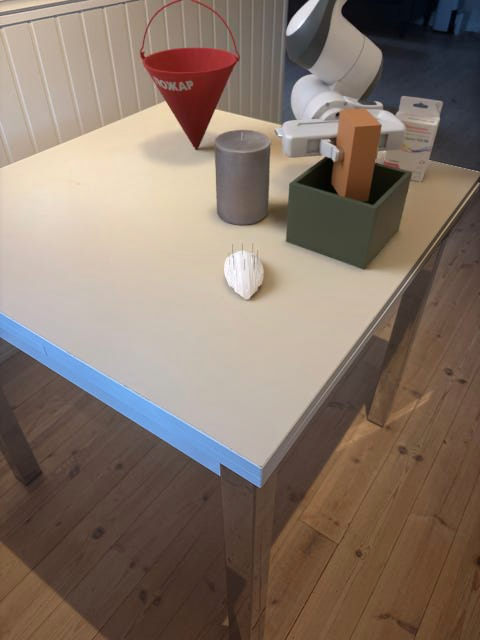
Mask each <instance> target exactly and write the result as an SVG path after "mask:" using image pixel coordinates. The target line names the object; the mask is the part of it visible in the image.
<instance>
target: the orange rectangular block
mask: <svg viewBox="0 0 480 640" xmlns="http://www.w3.org/2000/svg"><path fill="white" fill-rule="evenodd" d="M381 127H382V125H381V124H380V123H379V122H378V121H377V120H376V119H375V118H374V117H373V116H372V115H371V114H370V113H369V112H368V111H367V110H366V109H365V108H363V109H348V110H340V115H339V124H338V132H337V140H336V147H342V148H343V149H344V152H345V154H344V160H343V161H339V162H334V164H333V172H332V180H331V184H332V185H333V187H334V189H335V190H336V192H337V193H338V195H340V196H343V197H347V198H350V199H354V200H357V201H360V202H363V201H368V198H369V193H370V187H371V182H372V176H373V171H374V165H375V163H376V160H377V159H376V154H377V149H378V143H379V138H380V132H381Z"/></svg>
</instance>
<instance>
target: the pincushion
mask: <svg viewBox="0 0 480 640" xmlns="http://www.w3.org/2000/svg"><path fill="white" fill-rule="evenodd" d="M243 245H244V243H242V244H241V250H238V251H236V252H235V253H231V254H229V255H228V256H227V257H226V259H225V261H224V264H223V267H224V268H223V269H224V270H223V271H224V273H223V274H224V277H225V279H226V282H227V284H228V286H229V287H231V288H233V290H234V292H235V293H237V294H238V295H240V297H241V298H243V299H244V300H250V298H251V297H252V296H253V295H254V294H255V293H256V292H258V290H259V289H258V288H259V287H261V285H263V280H264V276H265V270H264V264H263V262H262V260H261V259H260V257H259V251H257V253H256V254H255V253H254V244H252V251H251V252H248V251H246V250H243V248H244V247H243ZM231 248H232V251H231V252H234V244H233V243H232V247H231Z"/></svg>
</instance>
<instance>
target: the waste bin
mask: <svg viewBox="0 0 480 640" xmlns="http://www.w3.org/2000/svg"><path fill="white" fill-rule="evenodd" d="M333 164H334V161H333V160H332V158H328V157H325V156H323V157H322V158H321V159H320V160H319V161H317V162H316V163H315V164H313V165H311V167H309V168H308V169H307V170H305V171H304V172H303V173H301V174H299V175H298V176H297V177H296V178H294V179H293V180H292V181H290V182H289V183H288V202H287V214H286V215H287V217H286V218H287V219H286V233H285V242H287V243H289V244H292V245H295V246H298V247H300V248H303V249H306V250H309V251H311V252H315V253H318V254H320V255H322V256H326V257H329V258H331V259H333V260H336V261H340V262H342V263H345V264H348V265H350V266H354V267H356V268H359V269H362V270H365V269H367V267H368V266H369V264H370V263H371V262H372V261H373V260H374V259H375V258H376V256H377V255H379V253H380V252H381V250H383V248H384V247H385V246H386V245H387V244H388V243H389V241H390V240H391V239H392V238H393V237H394V236H395V235H396V233H398V231H399V229H400V226H401V222H402V219H403V213H404V209H405V205H406V202H407V197H408V192H409V189H410V184H411V181H412V180H411V176H412V172H410V171H406V170H402V169H398V168H394V167H391V166H387V165H384V163H383V164H382V163H379V162H375V165H374V171H373V176H372V182H371V187H370V193H369V198H368V201H363V202H360V201H357V200H354V199H350V198H347V197H343V196H340V195H338V193H337V192H336V190H335V189H334V187H333V185H332V184H331V180H332V172H333Z"/></svg>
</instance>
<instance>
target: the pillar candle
mask: <svg viewBox="0 0 480 640" xmlns="http://www.w3.org/2000/svg"><path fill="white" fill-rule="evenodd" d="M271 144H272V139H271V137H269V136H268V135H267V134H265V133H263V132H260V131H258V130H252V129H251V130H250V129H237V130H236V129H234V130H229V131H225V132H222V133H220V134H218V135H217V136H216V137H215V139H214V163H215V164H214V166H215V195H216V214H217V216H218V217H219V219H220V220H222V221H224V222H226V223H228V224H231V225H237V226H238V225H239V226H240V225H241V226H243V225H246V226H247V225H253V224H256V223H258V222H259V221H262V220H263V219H264V218H266V217H267V216H268V213H269V198H270V196H269V195H270V173H271V171H270V170H271V169H270V168H271V167H270V165H271V164H270V163H271Z"/></svg>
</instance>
